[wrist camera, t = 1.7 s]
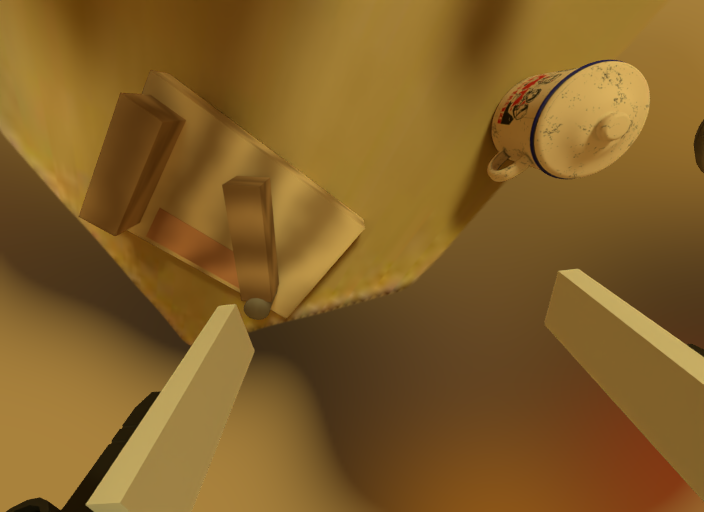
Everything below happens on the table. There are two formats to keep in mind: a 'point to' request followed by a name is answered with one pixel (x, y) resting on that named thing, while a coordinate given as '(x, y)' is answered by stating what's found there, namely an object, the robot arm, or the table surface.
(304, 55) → the table surface
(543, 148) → the teacup with lid
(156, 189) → the wooden board with block
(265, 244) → the hinged leg
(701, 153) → the coffee pot
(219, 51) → the table surface
